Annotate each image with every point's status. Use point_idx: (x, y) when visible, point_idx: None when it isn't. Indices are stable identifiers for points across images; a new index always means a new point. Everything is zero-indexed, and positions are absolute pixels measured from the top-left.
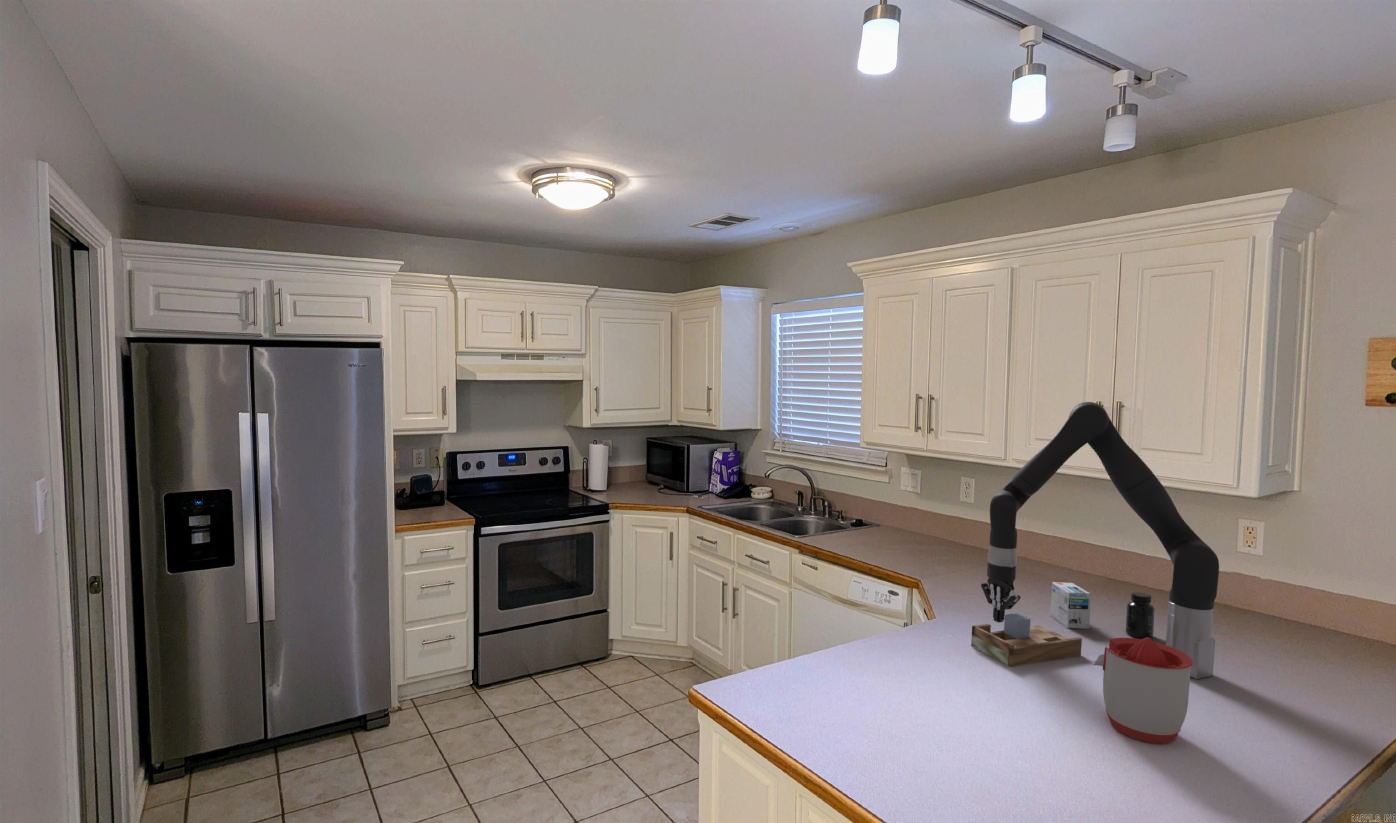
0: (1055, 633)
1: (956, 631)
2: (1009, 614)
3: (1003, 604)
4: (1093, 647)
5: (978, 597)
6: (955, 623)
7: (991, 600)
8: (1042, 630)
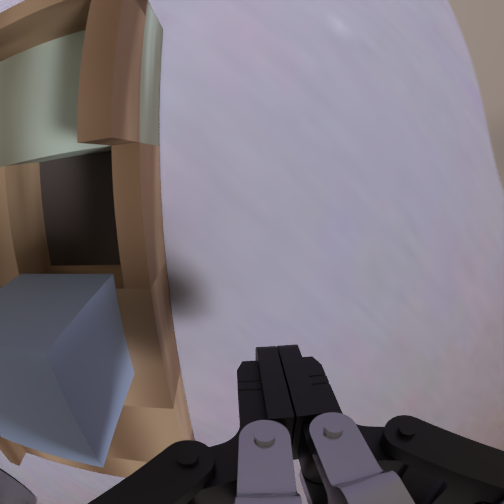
0: (101, 469)
1: (377, 104)
2: (61, 399)
3: (181, 490)
4: (91, 481)
5: (494, 423)
6: (456, 198)
7: (392, 454)
8: (134, 461)
